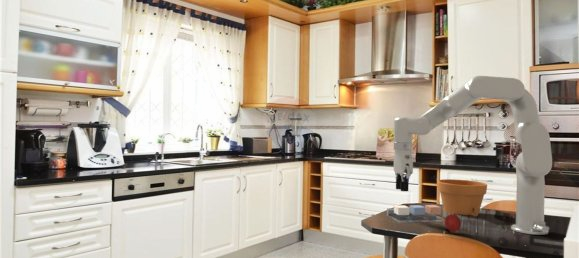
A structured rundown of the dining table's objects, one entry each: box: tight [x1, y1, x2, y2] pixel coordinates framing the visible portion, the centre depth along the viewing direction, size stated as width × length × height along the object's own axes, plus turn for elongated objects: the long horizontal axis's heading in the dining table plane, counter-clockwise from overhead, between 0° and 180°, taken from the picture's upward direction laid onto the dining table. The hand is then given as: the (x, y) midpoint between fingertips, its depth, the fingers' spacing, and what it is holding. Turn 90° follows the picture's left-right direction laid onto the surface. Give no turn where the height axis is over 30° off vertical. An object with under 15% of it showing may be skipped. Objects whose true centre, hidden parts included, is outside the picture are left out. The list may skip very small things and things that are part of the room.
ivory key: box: [393, 205, 410, 215], centre depth 180 cm, size 5×5×3 cm
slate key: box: [409, 204, 425, 215], centre depth 181 cm, size 5×5×3 cm
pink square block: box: [424, 204, 442, 215], centre depth 182 cm, size 5×5×3 cm
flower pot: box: [437, 178, 488, 218], centre depth 197 cm, size 21×21×15 cm
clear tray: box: [386, 207, 446, 223], centre depth 181 cm, size 13×22×4 cm, turn 98°
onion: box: [444, 212, 462, 234], centre depth 162 cm, size 6×6×8 cm
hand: (402, 189), depth 180 cm, fingers open, 4 cm apart
